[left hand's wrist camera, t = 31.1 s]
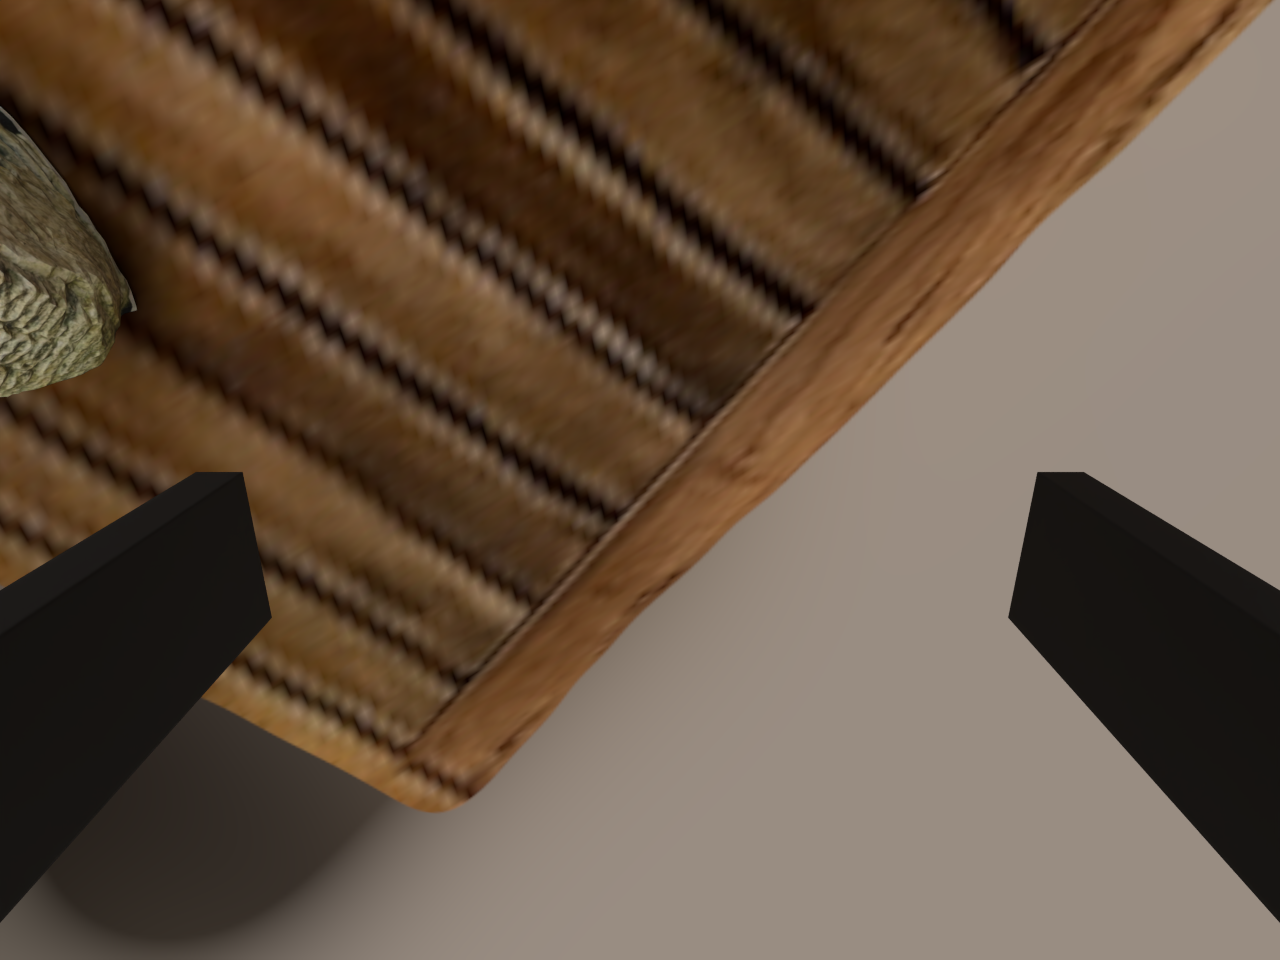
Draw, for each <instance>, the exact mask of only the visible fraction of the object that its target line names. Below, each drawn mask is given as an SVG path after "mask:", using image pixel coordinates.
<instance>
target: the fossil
mask: <svg viewBox="0 0 1280 960" xmlns="http://www.w3.org/2000/svg"><path fill="white" fill-rule="evenodd" d="M136 310H137V309H136V304H135V301H134V298H133V295H132V292H131V290H130V287H129V285H128V282H127V280H126V279H125V277H124V276H123V275H122V274H121V272H120V271H119V269H118V267H117V265H116V264H115V262H114V260H113V258H112V256H111V254H110V252H109V249H108V247H107V245H106V242H105V240H104V239H103V238H102V237H101V235H100V234H99V233H98V232H97V230H96V229H95V227H94V225H93V224H92V222H91V220H90V218H89V217H88V215H87V214H86V213H85V212H84V211H83V210H82V209H81V208H80V207H79V206H78V204H77V202H76V200H75V198H74V197H73V195H72V193H71V191H70V189H69V188H68V186H67V184H66V183H65V181H64V180H63V179H62V177H61V176H60V175H59V174H58V172H57V171H56V170H55V169H54V167H53V166H52V165H51V164H50V162H49V161H48V160H47V159H46V157H45V156H44V155H43V154H42V152H41V151H40V150H39V148H38V147H37V146H36V145H35V143H34V142H33V141H32V140H31V138H30V137H29V136H28V135H27V134H26V133H25V131H24V130H23V129H22V128H21V127H20V126H19V125H18V124H17V122H16V121H15V120H14V119H13V118H12V117H11V116H10V115H9V114H8V113H7V112H6V111H5V110H4V109H3V108H2V107H1V106H0V397H8V396H10V395H12V394H19V393H20V392H22V391H28V390H35V389H38V388H41V387H44V386H47V385H50V384H53V383H56V382H59V381H63V380H67V379H70V378H73V377H76V376H78V375H81V374H84V373H85V372H87V371H89V370H91V369H93V368H95V367H98V366H100V365H101V364H102V363H103V362H104V360H105V358H106V356H107V354H108V353H109V351H110V349H111V347H112V346H113V344H114V342H115V333H116V331H117V329H118V328H119V326H120V317H121V316H122V315H123V314H124V313H128V312H132V311H136Z"/></svg>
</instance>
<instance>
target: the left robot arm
mask: <svg viewBox="0 0 1280 960" xmlns="http://www.w3.org/2000/svg"><path fill="white" fill-rule="evenodd" d="M271 618H272V616H271V611H270V606H269V601H268V596H267V591H266V586H265V581H264V577H263V572H262V567H261V562H260V557H259V552H258V547H257V542H256V537H255V532H254V527H253V522H252V517H251V512H250V507H249V502H248V497H247V492H246V487H245V482H244V477H243V472H196V473H194V474H192V475H191V476H189V477H187V478H186V479H184V480H182V481H181V482H179V483H177V484H176V485H174V486H172V487H171V488H169V489H167V490H166V491H164V492H162V493H161V494H159V495H157V496H156V497H154V498H152V499H151V500H149V501H148V502H146V503H144V504H143V505H141V506H139V507H138V508H136V509H134V510H133V511H131V512H129V513H128V514H126V515H124V516H123V517H121V518H119V519H118V520H116V521H114V522H113V523H111V524H109V525H108V526H106V527H104V528H103V529H101V530H100V531H98V532H96V533H95V534H93V535H91V536H90V537H88V538H86V539H85V540H83V541H81V542H80V543H78V544H76V545H75V546H73V547H71V548H70V549H68V550H66V551H65V552H63V553H61V554H60V555H58V556H56V557H55V558H53V559H52V560H50V561H48V562H47V563H45V564H43V565H42V566H40V567H38V568H37V569H35V570H33V571H32V572H30V573H28V574H27V575H25V576H23V577H22V578H20V579H18V580H17V581H15V582H13V583H12V584H10V585H8V586H7V587H5V588H4V589H2V590H0V922H1V921H2V920H3V919H4V918H5V917H6V915H7V914H8V913H9V912H10V911H11V910H12V909H13V908H14V906H15V905H16V904H17V903H18V902H19V901H20V900H21V899H22V898H23V896H24V895H25V894H26V893H27V892H28V891H29V890H30V889H31V887H32V886H33V885H34V884H35V883H36V882H37V881H38V879H39V878H40V877H41V876H42V875H43V874H44V873H45V872H46V871H47V869H48V868H49V867H50V866H51V865H52V864H53V863H54V862H55V861H56V859H57V858H58V857H59V856H60V855H61V854H62V853H63V852H64V850H65V849H66V848H67V847H68V846H69V845H70V844H71V842H72V841H73V840H74V839H75V838H76V837H77V836H78V835H79V834H80V832H81V831H82V830H83V829H84V828H85V827H86V826H87V825H88V823H89V822H90V821H91V820H92V819H93V818H94V817H95V816H96V814H97V813H98V812H99V811H100V810H101V809H102V808H103V807H104V805H105V804H106V803H107V802H108V801H109V800H110V799H111V798H112V796H113V795H114V794H115V793H116V792H117V791H118V790H119V789H120V787H121V786H122V785H123V784H124V783H125V782H126V781H127V780H128V779H129V777H130V776H131V775H132V774H133V773H134V772H135V771H136V770H137V768H138V767H139V766H140V765H141V764H142V763H143V762H144V761H145V759H146V758H147V757H148V756H149V755H150V754H151V753H152V752H153V750H154V749H155V748H156V747H157V746H158V745H159V744H160V743H161V741H162V740H163V739H164V738H165V737H166V736H167V735H168V734H169V732H170V731H171V730H172V729H173V728H174V727H175V726H176V725H177V723H178V722H179V721H180V720H181V719H182V718H183V717H184V716H185V714H186V713H187V712H188V711H189V710H190V709H191V708H192V707H193V706H194V704H195V703H196V702H197V701H198V700H199V699H200V698H201V697H202V695H203V694H204V693H205V692H206V691H207V690H208V689H209V688H210V686H211V685H212V684H213V683H214V682H215V681H216V680H217V679H218V677H219V676H220V675H221V674H222V673H223V672H224V671H225V670H226V668H227V667H228V666H229V665H230V664H231V663H232V662H233V661H234V659H235V658H236V657H237V656H238V655H239V654H240V653H241V652H242V650H243V649H244V648H245V647H246V646H247V645H248V644H249V643H250V641H251V640H252V639H253V638H254V637H255V636H256V635H257V634H258V633H259V631H260V630H261V629H262V628H263V627H264V626H265V625H266V624H267V622H268V621H269V620H270V619H271ZM1008 618H1009V619H1010V620H1011V621H1012V622H1013V623H1014V625H1015V626H1016V627H1017V628H1018V629H1019V630H1020V631H1021V632H1022V634H1023V635H1024V636H1025V637H1026V638H1027V639H1028V640H1029V641H1030V643H1031V644H1032V645H1033V646H1034V647H1035V648H1036V649H1037V650H1038V652H1039V653H1040V654H1041V655H1042V656H1043V657H1044V658H1045V659H1046V661H1047V662H1048V663H1049V664H1050V665H1051V666H1052V667H1053V668H1054V670H1055V671H1056V672H1057V673H1058V674H1059V675H1060V676H1061V677H1062V679H1063V680H1064V681H1065V682H1066V683H1067V684H1068V685H1069V686H1070V688H1071V689H1072V690H1073V691H1074V692H1075V693H1076V694H1077V695H1078V696H1079V698H1080V699H1081V700H1082V701H1083V702H1084V703H1085V704H1086V706H1087V707H1088V708H1089V709H1090V710H1091V711H1092V712H1093V713H1094V714H1095V716H1096V717H1097V718H1098V719H1099V720H1100V721H1101V722H1102V723H1103V725H1104V726H1105V727H1106V728H1107V729H1108V730H1109V731H1110V732H1111V734H1112V735H1113V736H1114V737H1115V738H1116V739H1117V740H1118V741H1119V743H1120V744H1121V745H1122V746H1123V747H1124V748H1125V749H1126V750H1127V752H1128V753H1129V754H1130V755H1131V756H1132V757H1133V758H1134V759H1135V761H1136V762H1137V763H1138V764H1139V765H1140V766H1141V767H1142V768H1143V770H1144V771H1145V772H1146V773H1147V774H1148V775H1149V776H1150V777H1151V778H1152V780H1153V781H1154V782H1155V783H1156V784H1157V785H1158V786H1159V788H1160V789H1161V790H1162V791H1163V792H1164V793H1165V794H1166V795H1167V796H1168V798H1169V799H1170V800H1171V801H1172V802H1173V803H1174V804H1175V805H1176V807H1177V808H1178V809H1179V810H1180V811H1181V812H1182V813H1183V814H1184V816H1185V817H1186V818H1187V819H1188V820H1189V821H1190V822H1191V823H1192V825H1193V826H1194V827H1195V828H1196V829H1197V830H1198V831H1199V832H1200V834H1201V835H1202V836H1203V837H1204V838H1205V839H1206V840H1207V841H1208V843H1209V844H1210V845H1211V846H1212V847H1213V848H1214V849H1215V850H1216V852H1217V853H1218V854H1219V855H1220V856H1221V857H1222V858H1223V859H1224V861H1225V862H1226V863H1227V864H1228V865H1229V866H1230V867H1231V868H1232V869H1233V871H1234V872H1235V873H1236V874H1237V875H1238V876H1239V877H1240V878H1241V880H1242V881H1243V882H1244V883H1245V884H1246V885H1247V886H1248V887H1249V889H1250V890H1251V891H1252V892H1253V893H1254V894H1255V895H1256V896H1257V898H1258V899H1259V900H1260V901H1261V902H1262V903H1263V904H1264V905H1265V907H1266V908H1267V909H1268V910H1269V911H1270V912H1271V913H1272V914H1273V916H1274V917H1275V918H1276V919H1277V920H1278V921H1279V922H1280V590H1278V589H1276V588H1275V587H1273V586H1271V585H1270V584H1268V583H1267V582H1265V581H1263V580H1262V579H1260V578H1258V577H1257V576H1255V575H1253V574H1252V573H1250V572H1248V571H1247V570H1245V569H1243V568H1242V567H1240V566H1238V565H1237V564H1235V563H1233V562H1232V561H1230V560H1228V559H1227V558H1225V557H1223V556H1222V555H1220V554H1219V553H1217V552H1215V551H1214V550H1212V549H1210V548H1209V547H1207V546H1205V545H1204V544H1202V543H1200V542H1199V541H1197V540H1195V539H1194V538H1192V537H1190V536H1189V535H1187V534H1185V533H1184V532H1182V531H1180V530H1179V529H1177V528H1175V527H1174V526H1172V525H1171V524H1169V523H1167V522H1166V521H1164V520H1162V519H1161V518H1159V517H1157V516H1156V515H1154V514H1152V513H1151V512H1149V511H1147V510H1146V509H1144V508H1142V507H1141V506H1139V505H1137V504H1136V503H1134V502H1132V501H1131V500H1129V499H1127V498H1126V497H1124V496H1123V495H1121V494H1119V493H1117V492H1116V491H1114V490H1113V489H1111V488H1109V487H1108V486H1106V485H1104V484H1103V483H1101V482H1099V481H1098V480H1096V479H1094V478H1093V477H1091V476H1089V475H1088V474H1086V473H1084V472H1038V473H1037V477H1036V482H1035V487H1034V492H1033V497H1032V502H1031V507H1030V512H1029V517H1028V522H1027V527H1026V532H1025V537H1024V542H1023V547H1022V552H1021V557H1020V562H1019V567H1018V572H1017V577H1016V581H1015V587H1014V591H1013V596H1012V601H1011V606H1010V612H1009V616H1008Z"/></svg>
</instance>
